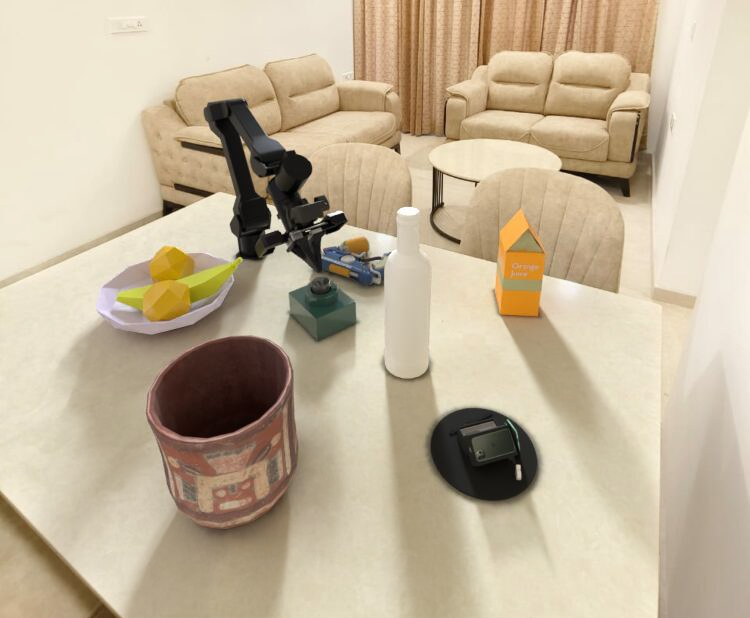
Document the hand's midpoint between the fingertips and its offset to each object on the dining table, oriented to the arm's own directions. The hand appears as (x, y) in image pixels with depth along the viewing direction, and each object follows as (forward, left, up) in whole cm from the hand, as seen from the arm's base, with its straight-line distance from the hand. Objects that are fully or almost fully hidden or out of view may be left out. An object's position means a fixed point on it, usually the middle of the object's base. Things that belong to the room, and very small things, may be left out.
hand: (320, 271), depth 98 cm
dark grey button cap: (0, 0, -4) cm, 4 cm away
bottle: (+19, -9, -11) cm, 24 cm away
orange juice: (+38, +14, -11) cm, 42 cm away
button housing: (0, 0, -11) cm, 11 cm away
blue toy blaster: (+2, +21, -11) cm, 24 cm away
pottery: (+1, -37, -11) cm, 39 cm away
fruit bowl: (-31, -4, -11) cm, 33 cm away
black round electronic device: (+33, -24, -11) cm, 42 cm away
